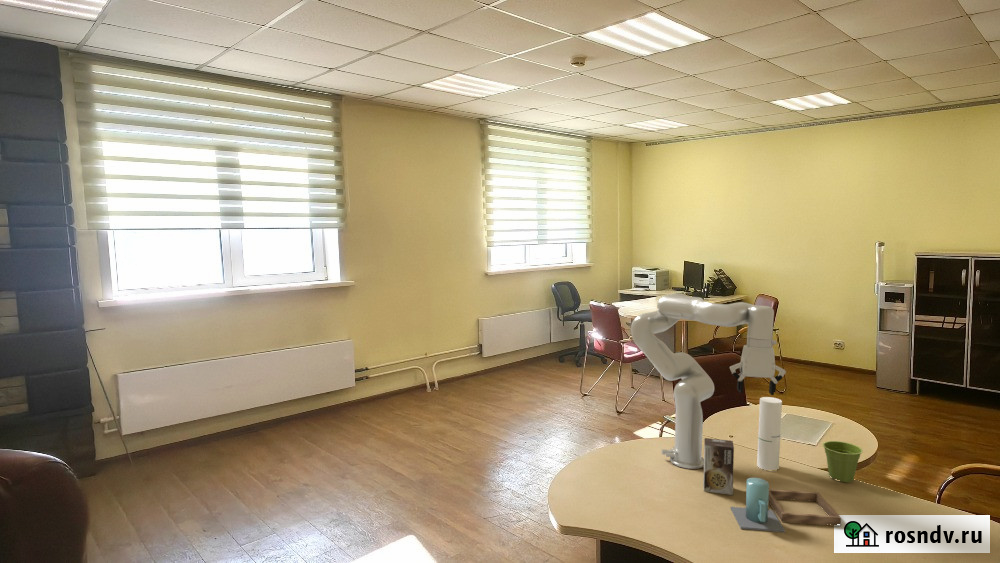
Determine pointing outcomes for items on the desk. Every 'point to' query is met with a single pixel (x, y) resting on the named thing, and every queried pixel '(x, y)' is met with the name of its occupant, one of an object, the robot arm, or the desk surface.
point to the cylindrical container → (769, 433)
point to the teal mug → (757, 500)
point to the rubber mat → (744, 523)
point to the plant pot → (842, 459)
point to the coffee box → (718, 466)
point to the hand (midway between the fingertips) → (755, 393)
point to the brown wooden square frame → (803, 518)
